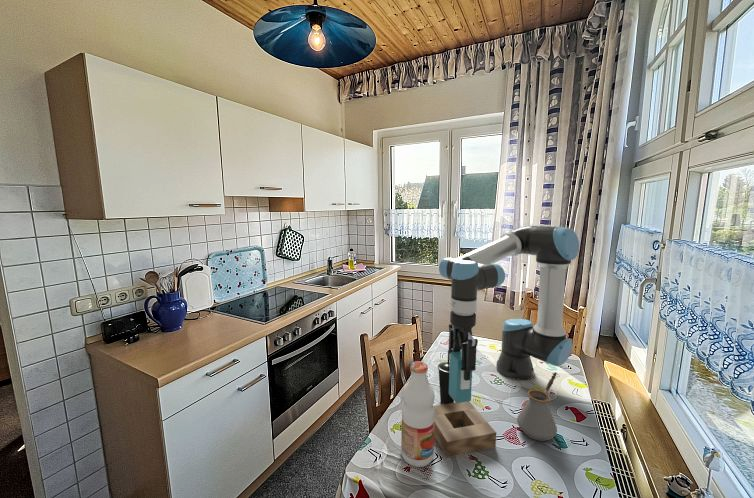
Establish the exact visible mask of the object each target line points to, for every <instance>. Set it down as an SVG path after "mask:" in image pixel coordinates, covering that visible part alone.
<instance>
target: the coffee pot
mask: <svg viewBox="0 0 754 498" xmlns="http://www.w3.org/2000/svg"><path fill="white" fill-rule="evenodd" d="M557 375H558V376H560V374H558V373H557V372H556V371H554V372H553V373H552V375H551V377H550V379H549V380H548V383H547V385H546V387H545V390H544V391H542V390H540V389H529V390H528V391H527V396H528V398H529V399H528V400H527V402H526V403H525V405H524V406H523V407H522V409H521V411H520V413H519V414H518V415H517V417H516V421H517V424H518V427H519V428H520V430H521V431H522V432H523V433H524V434H525V435H526V436H527V437H529V438H530V439H532V440H536V441H540V442H545V441H548V440H551V439H553V438H554V437H555V436H556V435H557V432H558V428H557V425H556V422H555V419H554V417H553V414H552V412H551V409H550V407H549V403H551V402H552V400H551V396H550V395H549V394H548V392H549V390H550V389H551V387H552V386H553V384H554V381H555V380H556V378H557Z"/></svg>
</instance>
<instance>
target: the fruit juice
mask: <svg viewBox="0 0 754 498" xmlns="http://www.w3.org/2000/svg"><path fill="white" fill-rule="evenodd" d="M428 369H429V367H428V364H427V362H423V361H418V360H416V361H413V362H411V363H410V366H409V370H410V376H409V380H408V382H406V383H405V384H404V386H403V388H402V395H401V396H402V400H403V404H402V407H401V429H400V430H401V431H400V432H401V434H400V435H401V437H400V438H401V441H400V443H401V446H400V448H401V457H402V458H403V460H404V461H405V462H406V463H407V464H408V465H410V466H411V467H416V468H421V467H427V466H428V465H429V464H430V463H432V461H433V458H434V452H435V451H434V449H435V448H434V447H435V446H434V445H435V436H434V420H435V414H434V407H433V406H434V401H435V391H434V388H433V387H432V385H431V383H430V382H429V380H428V376H427V373H428V371H429V370H428Z"/></svg>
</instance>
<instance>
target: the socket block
mask: <svg viewBox="0 0 754 498" xmlns="http://www.w3.org/2000/svg"><path fill="white" fill-rule="evenodd" d="M433 407H434V414H435V420H434V439H435V440H436V441H437V443H438V445H439V447H440V448H441V450H442V451H443V454H444V455H445V456H446V458H451V457H456V456H462V455H466V454H471V453H475V452H476V453H477V452H481V451H485V450H491V449H495V448H496V446H497V445H496V444H497V443H496V442H497V431H496V430H495V429H494V428H493V427H492V426H491V425H490V424H489V421H487V419H485V418H484V417H483V415H482V414H481V413H480V412H479V410H478V409H477V408H476V407H475V406H474V405H473V404H472V403H471V401H467V402H461V403H455V402H454V403H449V404H437V405H433ZM460 425H462V426H460ZM455 426H460V427H456V428H455Z"/></svg>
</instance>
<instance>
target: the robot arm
mask: <svg viewBox="0 0 754 498" xmlns="http://www.w3.org/2000/svg"><path fill="white" fill-rule="evenodd" d="M579 250H580V241H579V237H578V235H577V233H576V232H575V230H574V229H572V228H570V227H563V226H545V225H544V226H542V225H528V226H522V227H519V228H516V229H513V230H510V231H508V232H506V233H504V234H502V235H501V237H499V239H497V240H494V241H492V242H489V243H487V244H484V245H482V246H480V247H479V248H476V249H473V250H471V251H469V252H467V253H465V254H463V255H461V256H458V257H456V258H455V257H454V258H453V257H444V258H443V259H442V260H440V263H439V266H438V271H439V274H440V276H441V277H442V278H444V279H448V280H449V281H451V286H450V287H451V291H450V292H451V294H450V295H451V297H450V302H449V303H450V310H451V311H450V313H449V314H450V316H449V322H450V323H449V324H448V331H449V333H448V349H447V353H448V352H449V354H450V353H451V352H459V351H461V352H462V364H463V368H461V383H460V389H461V390H463V389H469V388H470V372H471V371H472V372H473V371H476V368H477V365H476V364H477V361H476V360H477V347H478V343H479V342H478V339H477V338H474V337H473V331H472V328H473V327H475V326H476V324H477V308H478V307H477V305H478V303H477V301H478V298H477V297H478V292H479V291H483V290H488V289H495V288H496V287H499V286H501V285H502V284H503V283H504V282H505V280H506V272H505V270H504V268H503V267H502V266H501V264H497V262H499V261H502V260H503V259H505V258H506V259H507V257H514V256H518V255H531V256H535V262H536V263H537V264H538V265H539V279H538V283H539V284H538V302H537V303H538V304H537V305H538V307H537V323H536V324H533V322H532V320H529V319H526V318H525V319H524V318H510V319H507V320H505V321H504V322H503V323H502V330H501V331H502V333H501V352H500V354H499V356H498V359H497V361H496V370H497V372H498V373H500V374H501V375H503V376H504V377H507V378H509V379H513V380H520V381H525V380H530V379H532V378H533V377H534V374H535V370H534V365H533V361H532V358H534V359H537V360H539V361H542V362H544V363H546V364H548V365H551V366H555V367H561V366H563V365H564V364H565V363H566V362H567V361H568V360H569V358H570V356H571V354H572V350H573V341H572V339H569V338H568V337H567V330H566V329H565V328H564V327H563V321H564V319H563V317H564V303H565V301H564V300H565V286H566V284H565V283H566V273H567V271H566V269H567V267H568V266H570V265H571V263H572V261H573V260H575V259H576V258H577V256H578V253H579V252H580V251H579Z"/></svg>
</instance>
